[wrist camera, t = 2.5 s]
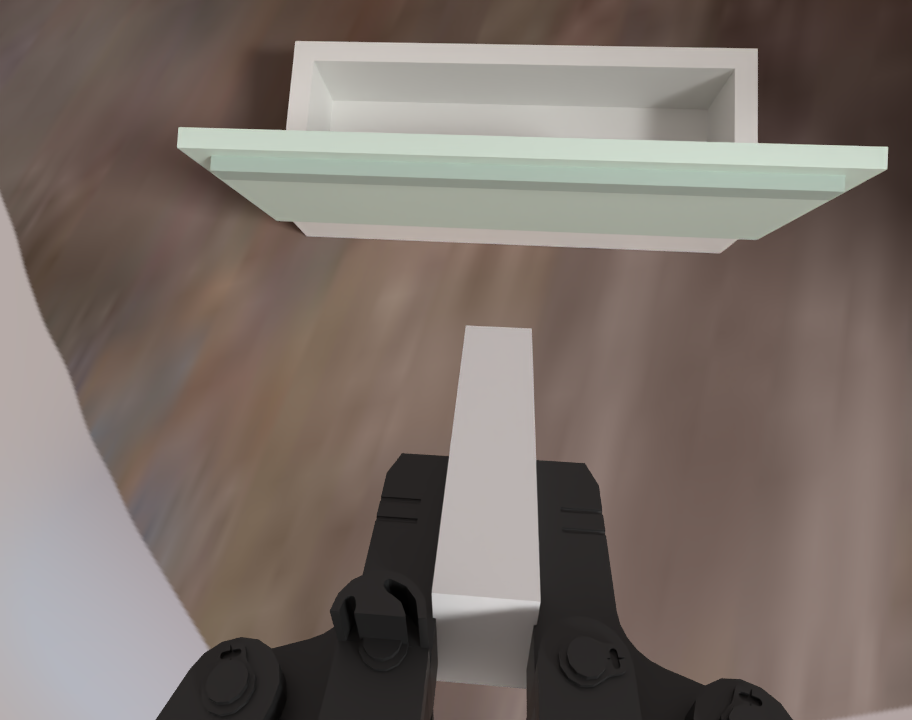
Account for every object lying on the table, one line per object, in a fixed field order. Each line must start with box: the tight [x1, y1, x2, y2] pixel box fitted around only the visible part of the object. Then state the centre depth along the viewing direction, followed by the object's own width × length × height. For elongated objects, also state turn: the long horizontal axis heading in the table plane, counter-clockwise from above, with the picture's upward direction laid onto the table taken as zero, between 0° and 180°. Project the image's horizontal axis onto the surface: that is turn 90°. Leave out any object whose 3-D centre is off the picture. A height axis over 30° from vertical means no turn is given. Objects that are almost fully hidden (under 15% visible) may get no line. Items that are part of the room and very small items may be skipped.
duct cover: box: [177, 127, 888, 240], centre depth 26 cm, size 26×10×1 cm
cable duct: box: [286, 41, 758, 253], centre depth 34 cm, size 26×10×5 cm, turn 87°
